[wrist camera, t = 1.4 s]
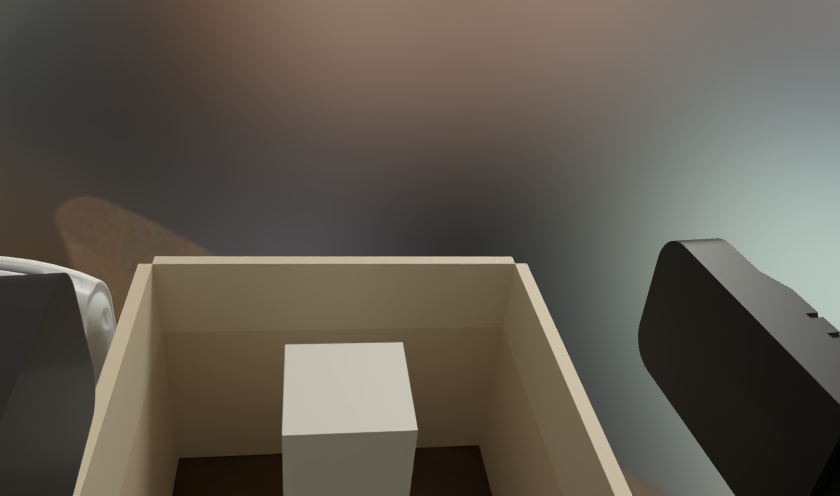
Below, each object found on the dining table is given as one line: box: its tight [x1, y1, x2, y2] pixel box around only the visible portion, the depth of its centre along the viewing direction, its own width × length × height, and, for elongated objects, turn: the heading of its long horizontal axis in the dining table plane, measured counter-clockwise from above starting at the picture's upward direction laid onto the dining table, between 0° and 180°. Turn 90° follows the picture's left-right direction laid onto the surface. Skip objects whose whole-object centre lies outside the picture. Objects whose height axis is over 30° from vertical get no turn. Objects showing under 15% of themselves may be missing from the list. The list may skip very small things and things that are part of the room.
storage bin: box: [73, 256, 632, 496], centre depth 31 cm, size 18×15×13 cm
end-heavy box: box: [282, 342, 418, 496], centre depth 31 cm, size 5×5×12 cm
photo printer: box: [0, 256, 117, 389], centre depth 35 cm, size 10×4×12 cm, turn 90°
